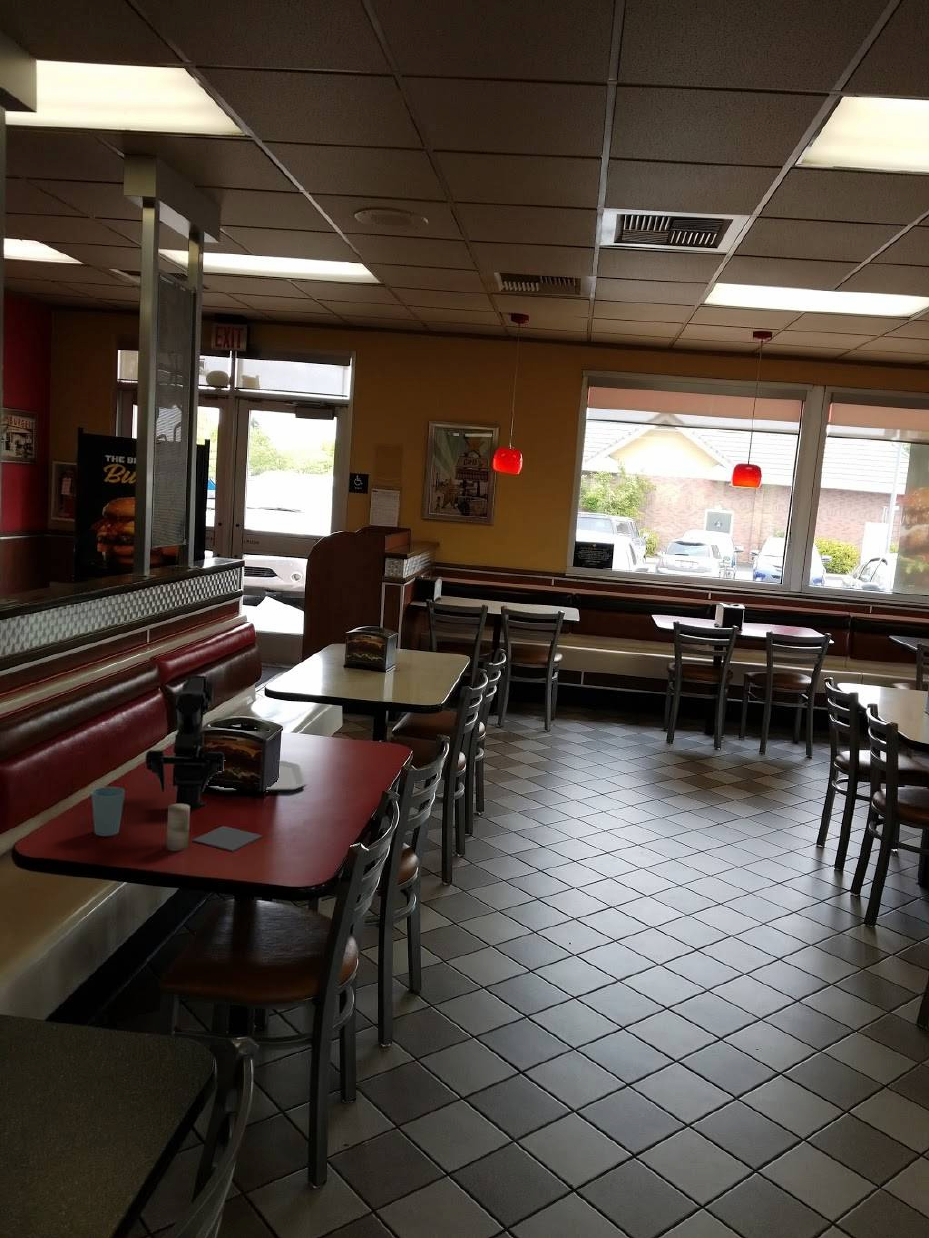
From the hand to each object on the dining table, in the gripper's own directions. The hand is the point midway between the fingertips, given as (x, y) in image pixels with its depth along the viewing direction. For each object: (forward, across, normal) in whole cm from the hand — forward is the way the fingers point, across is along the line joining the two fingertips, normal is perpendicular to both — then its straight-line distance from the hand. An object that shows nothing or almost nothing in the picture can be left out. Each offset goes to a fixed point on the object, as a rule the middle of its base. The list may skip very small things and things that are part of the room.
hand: (182, 791), depth 233 cm
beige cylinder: (+13, 0, +4) cm, 13 cm away
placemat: (+9, +12, +8) cm, 16 cm away
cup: (+6, -18, +10) cm, 22 cm away
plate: (-26, +17, +43) cm, 53 cm away
